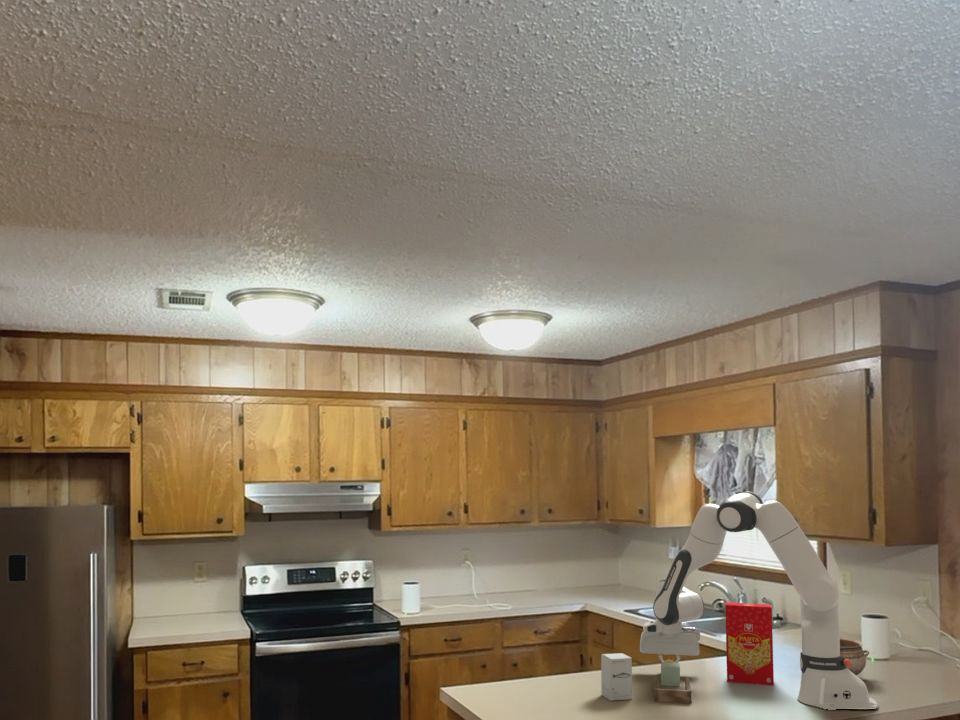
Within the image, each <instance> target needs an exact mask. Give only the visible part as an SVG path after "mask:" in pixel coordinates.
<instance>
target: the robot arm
mask: <svg viewBox="0 0 960 720" xmlns="http://www.w3.org/2000/svg"><path fill="white" fill-rule="evenodd" d="M754 528H755V529H757V530H759V531H760V533H761V534H762V535H763V538H765V540H766V542H767V543H768V545H769V546H770V548H771V550H772V552H773V553H774V555H775V556H776V558H777V560H778V561H779V563H780V564H781V566H782V568H783V570H784V571H785V573H786V575H787V576H788V579H789V580H790V582H791V584H792V586H793V587H794V589H795V591H796V592H797V594H798V595H799V600H800V601H799V604H800V607H799V608H800V635H801V640H800V641H801V651H800V657H799V666H800V671H801V677H800V678H801V679H800V686H799V691H798V695H797V700H798V701H799V702H801V703H803V704H806V705H808V706H812V707H817V708H820V709H822V708H823V709H822V710H826V709H828V710H827V711H837V710H836V709H847V708H875V707H876V706H877V707H878V703H877V701H876V700H875V699H873V698H872V697H871V696H870V694H869V690H868V687H867V685H866V683H865V682H864V681H863V680H862V679H861V678H859V676H857V675H855V674H854V673H852V672H851V671H850V670H849V669H847V667H850V665H851V664H852V663H851V661H850V660H849V659H846V658H845V657H843V656H842V655H840V639H839V637H840V619H839V604H838V603H839V602H838V600H839V594H840V593H839V589H838V585H837V582H836V579H835V578H834V577H833V575H831V574H830V572H829V571H828V570H827V568H826V567H825V564H824V563H823V561H822V560H821V558H820V557H819V555H818V553H817V552H816V550H815V548H814V546H813V545H812V544H811V542H810V540H809V538H808V537H807V536H806V534H805V533H804V531H803V530H802V528H801V526H800V525H799V523H798V522H797V520H796V519H795V518H794V516H793V515H792V514H791V512H790V511H789V510H788V508H786V507H785V505H783V503H782V502H780V501H779V500H778V501H777V500H768V501H765V502H763V499H762V498H761V497H760V496H759V495H758V494H756V493H755V492H753V491H740V492H738V493H737V494H733V495H731V496H729V497H727V498H726V499H725V500H723V501H722V502H721V503H720V504H719V505H718V504H716V503H715V504H714V503H706V504H704V505H702V506H701V507H700V508H699V510H698V512H697V513H696V516H695V518H694V520H693V523H692V526H691V529H690V532H689V534H688V537H687V540H686V542H685V544H684V545H683V547H682V548H681V550H679V552H678V553H677V555H676V556H675V558H674V560H673V562H672V565H671V567H670V569H669V570H668V571H669V572H668V574H667V576H666V578H665V579H661V580H659V581H658V582H657V584H656V589H655V599H654V601H653V605H652V609H653V614H654V617H655V619H654V620H650V621H647V622H645V623H643V626H642V627H643V630H642V632H641V634H640V635H641V636H640V642H639V651H640V653H641V654H650V655H651V654H653V655H658V659H659V660H660V663H661V662H666V660H665V661H664V659H663V656H664V655H668V656H670V655H675V656H676V660H675V661H673V663H679V662H680V660H681V659H682V658H681V657H682V656H694V657H695V656H696V657H698V656H699V655H700V651H701V650H700V644H699V641H700V639H701V632H700V630H699V629H698V628H696V627H689V626H683V623H685V622H690V621H697V620H699V619H701V618H702V616H703V615H704V612H705V604H704V600H703V598H702V596H701V595H700V594H699V593H698V592H696V591H692V590H691V589H688V588H687V587H686V586H685V584H686V582H687V579H688V578H689V576H690V575H692V573H694V572H695V571H696V570H698V569H701V568H702V567H704V566H707V565H709V564H711V563H713V562H715V560H717V559H718V558H719V555H720V554H721V551H722V549H723V546H724V541H725V539H726V535H727V532H729V533H741V532H745V531H746V532H747V531H752V530H754ZM869 697H870V698H869Z"/></svg>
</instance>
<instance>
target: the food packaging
mask: <svg viewBox="0 0 960 720" xmlns="http://www.w3.org/2000/svg"><path fill="white" fill-rule="evenodd" d="M772 608H773V606H772V604H765V603H746V602H745V603H744V602H743V603H742V602H729V601H726V602H725V643H726V647H725V648H726V653H725V655H726V683H737V684H747V685H748V684H749V685H761V686H772V687H773V686H774V685H775V684H774V680H775V679H774V676H775V675H774V674H775V673H774V647H773V646H774V645H773V644H774V643H773V642H774V641H773V638H774V637H773V609H772Z"/></svg>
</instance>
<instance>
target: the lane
mask: <svg viewBox="0 0 960 720" xmlns="http://www.w3.org/2000/svg"><path fill="white" fill-rule="evenodd" d="M653 686H654V687H653V693H654V699H653V700H654V702H659V703H660V702H661V703H679V704H692V687H691V682H690V678H689V677H685V678H684V689H675V688H674V689H670V688H659V677H658V676H653Z"/></svg>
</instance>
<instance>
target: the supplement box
mask: <svg viewBox="0 0 960 720" xmlns="http://www.w3.org/2000/svg"><path fill="white" fill-rule="evenodd" d="M600 656H601V658H600V660H601V662H600V664H601V665H600V666H601V667H600V670H601V672H600V673H601V676H600V677H601V680H600V681H601V684H600V685H601V690H600V691H601V696H603V697H604V698H605V699H606V700H608V701H610V702H612V701H622V700H623V701H624V700H630V701H631V700H632V699H633V681H632V680H633V674H632V673H633V672H632V671H633V664H632V663H633V658H632V657H631V656H629V655H627V654H626V653H622V652H620V653H619V652H618V653H602V654H601V655H600Z"/></svg>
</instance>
